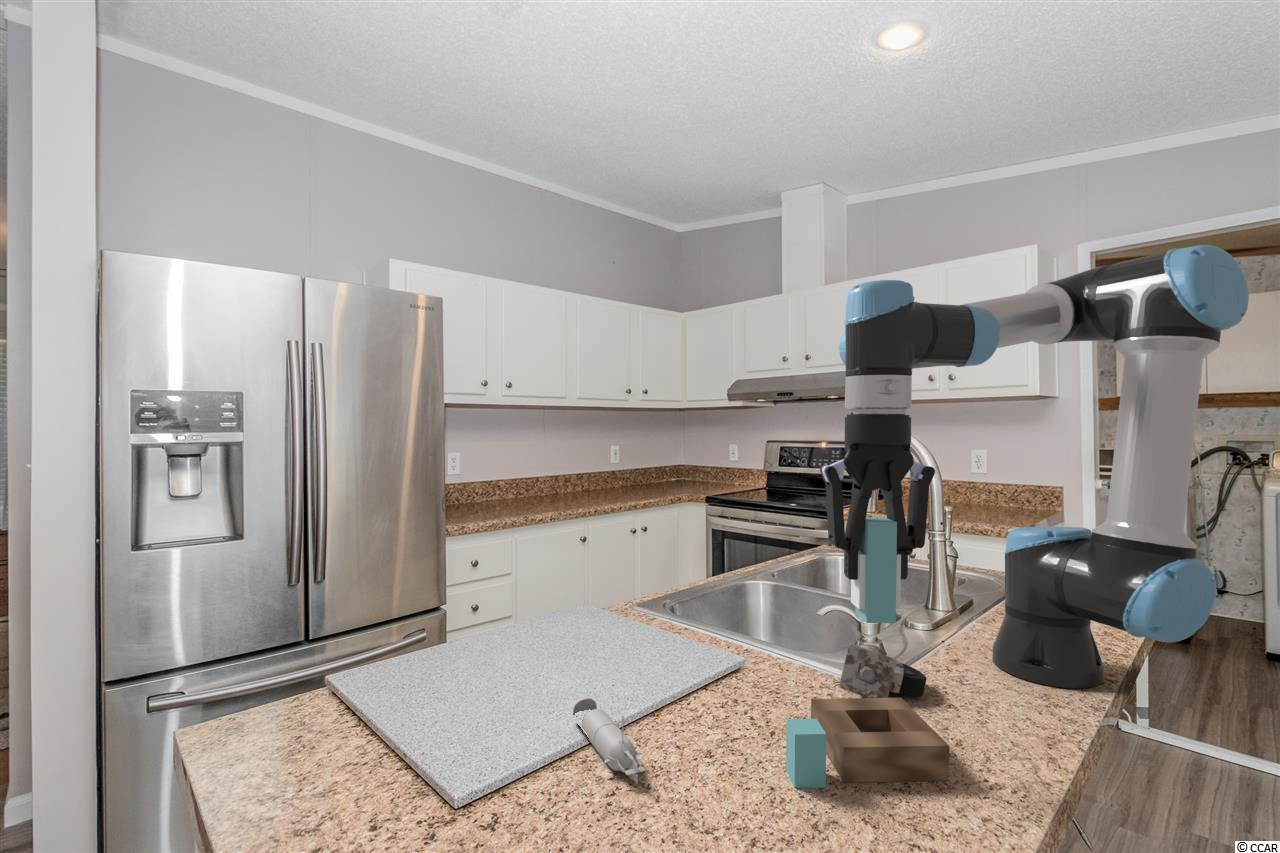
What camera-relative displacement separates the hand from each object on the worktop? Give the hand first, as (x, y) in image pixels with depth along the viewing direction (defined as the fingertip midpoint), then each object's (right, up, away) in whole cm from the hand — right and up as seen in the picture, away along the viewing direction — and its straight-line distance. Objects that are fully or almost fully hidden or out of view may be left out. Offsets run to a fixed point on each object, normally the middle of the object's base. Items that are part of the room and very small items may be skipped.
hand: (875, 605), depth 77 cm
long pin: (0, -2, 0) cm, 2 cm away
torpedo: (-33, -19, +1) cm, 38 cm away
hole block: (0, -18, 0) cm, 18 cm away
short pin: (-10, -18, -5) cm, 21 cm away
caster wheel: (+8, -18, +18) cm, 27 cm away
